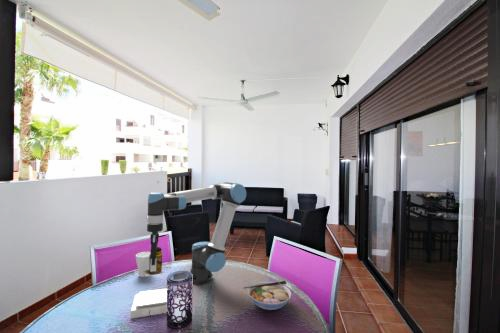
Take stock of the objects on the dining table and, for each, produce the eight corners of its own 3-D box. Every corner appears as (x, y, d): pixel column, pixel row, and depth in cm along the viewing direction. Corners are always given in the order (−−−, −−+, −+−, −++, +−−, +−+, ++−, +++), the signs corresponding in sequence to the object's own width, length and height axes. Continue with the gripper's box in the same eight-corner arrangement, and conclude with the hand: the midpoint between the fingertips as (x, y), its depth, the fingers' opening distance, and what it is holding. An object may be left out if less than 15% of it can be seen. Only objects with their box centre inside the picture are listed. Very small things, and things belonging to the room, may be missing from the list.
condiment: (163, 273, 123) (164, 249, 123) (145, 276, 118) (146, 252, 119) (160, 268, 129) (161, 245, 129) (143, 271, 125) (144, 247, 125)
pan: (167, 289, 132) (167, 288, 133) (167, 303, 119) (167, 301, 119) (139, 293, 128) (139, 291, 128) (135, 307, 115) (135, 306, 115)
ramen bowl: (252, 322, 113) (252, 304, 113) (240, 297, 135) (241, 282, 135) (300, 315, 120) (301, 298, 120) (282, 292, 142) (282, 278, 142)
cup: (149, 270, 167) (149, 250, 167) (154, 275, 159) (155, 254, 159) (132, 274, 160) (133, 253, 160) (138, 280, 152) (138, 258, 152)
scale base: (171, 296, 134) (171, 288, 134) (171, 313, 118) (171, 305, 118) (135, 300, 128) (135, 293, 129) (130, 319, 112) (130, 310, 113)
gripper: (148, 219, 132) (147, 262, 132) (145, 227, 114) (143, 277, 114) (163, 219, 134) (162, 260, 134) (162, 227, 116) (160, 275, 116)
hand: (153, 268), depth 124 cm, fingers closed on condiment, 6 cm apart
